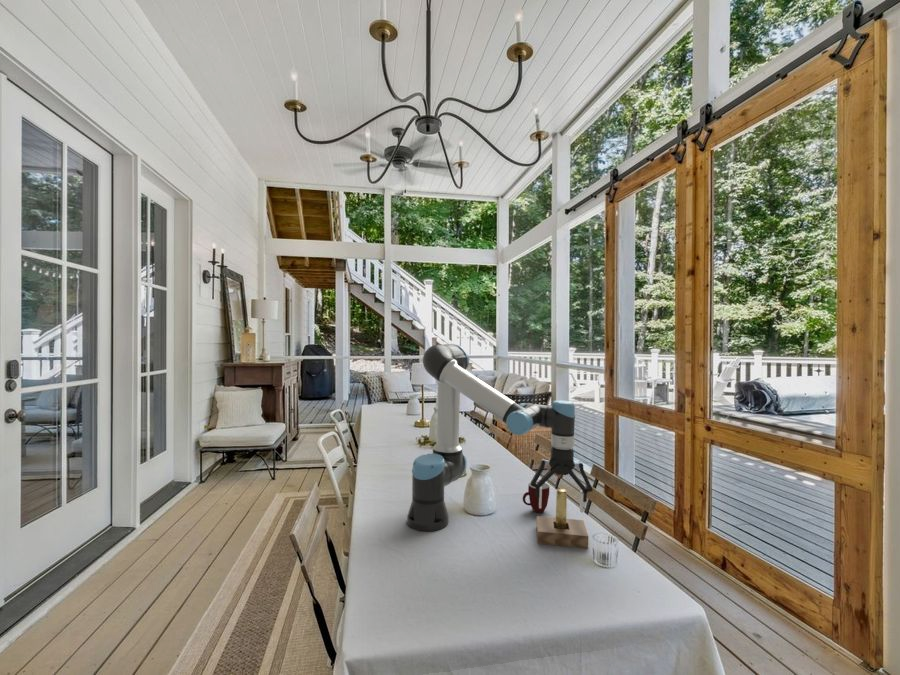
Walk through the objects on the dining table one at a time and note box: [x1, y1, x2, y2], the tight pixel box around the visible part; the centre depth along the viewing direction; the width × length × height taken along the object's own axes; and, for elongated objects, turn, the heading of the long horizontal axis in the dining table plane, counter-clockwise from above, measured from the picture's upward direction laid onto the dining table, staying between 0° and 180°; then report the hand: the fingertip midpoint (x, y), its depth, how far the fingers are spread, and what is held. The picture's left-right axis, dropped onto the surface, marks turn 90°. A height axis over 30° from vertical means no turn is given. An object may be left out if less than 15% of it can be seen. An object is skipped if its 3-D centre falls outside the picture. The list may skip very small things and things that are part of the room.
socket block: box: [536, 515, 589, 549], centre depth 143 cm, size 16×12×4 cm
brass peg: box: [555, 488, 568, 529], centre depth 143 cm, size 3×3×16 cm
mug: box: [522, 481, 550, 514], centre depth 164 cm, size 10×8×10 cm
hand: (560, 509), depth 143 cm, fingers open, 13 cm apart
